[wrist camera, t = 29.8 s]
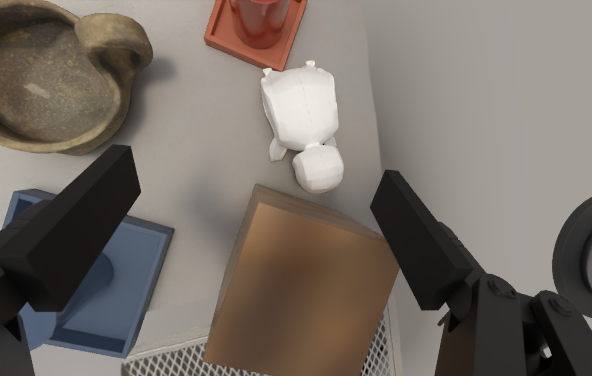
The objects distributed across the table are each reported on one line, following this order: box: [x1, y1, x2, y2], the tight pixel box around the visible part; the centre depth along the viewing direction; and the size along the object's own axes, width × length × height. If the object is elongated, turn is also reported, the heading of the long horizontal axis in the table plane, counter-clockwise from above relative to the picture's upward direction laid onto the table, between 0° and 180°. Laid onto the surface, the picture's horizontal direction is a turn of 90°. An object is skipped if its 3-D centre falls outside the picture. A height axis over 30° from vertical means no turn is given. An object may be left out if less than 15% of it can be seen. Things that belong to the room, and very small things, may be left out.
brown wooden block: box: [202, 184, 400, 376], centre depth 26 cm, size 12×12×15 cm
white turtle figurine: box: [261, 61, 344, 194], centre depth 29 cm, size 9×8×15 cm
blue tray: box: [2, 189, 174, 359], centre depth 29 cm, size 15×15×2 cm
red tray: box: [204, 0, 307, 72], centre depth 30 cm, size 9×9×2 cm
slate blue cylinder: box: [19, 252, 113, 351], centre depth 25 cm, size 6×6×9 cm
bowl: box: [0, 0, 153, 156], centre depth 23 cm, size 14×18×10 cm
